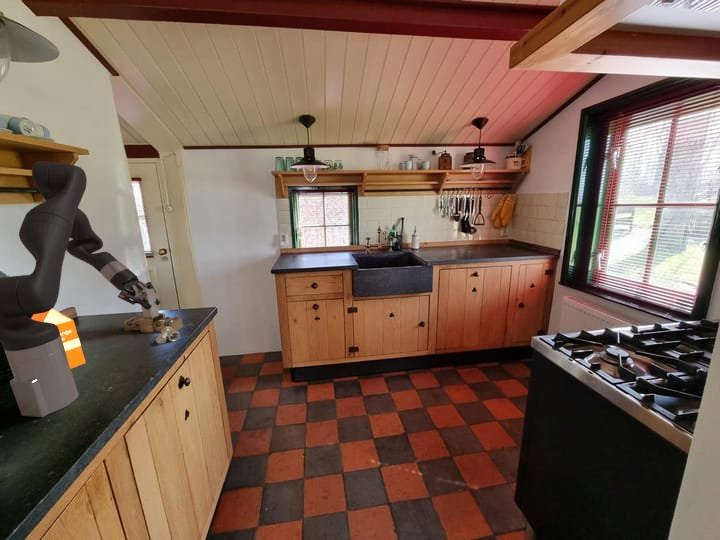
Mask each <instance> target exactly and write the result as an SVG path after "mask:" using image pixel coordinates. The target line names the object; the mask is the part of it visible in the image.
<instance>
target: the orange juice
mask: <svg viewBox="0 0 720 540" xmlns="http://www.w3.org/2000/svg"><path fill="white" fill-rule="evenodd" d="M30 318H31V319H33V320H36V321H41V322H48V323H53V324H55V325H57V326H58V328H59V331H60V335H61V338H62V342H63V345H64V348H65V352H66V355H67V358H68V362H69V365H70V368H71V369H73V368H76V367H79V366H81V365H84V364H86V358H85V356H84V353H83V349H82V344H81V341H80V338H79V335H78V331H77V328H76V324H75V322H74V321H75V320H74V319H71V318H70V317H67V316H66V315H64V314H63V313H61V312H59V311H57V310H56V309H54V308H53V309H51V310H50V311H48V312H45V313H40V314H32V316H31V317H30Z"/></svg>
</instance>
